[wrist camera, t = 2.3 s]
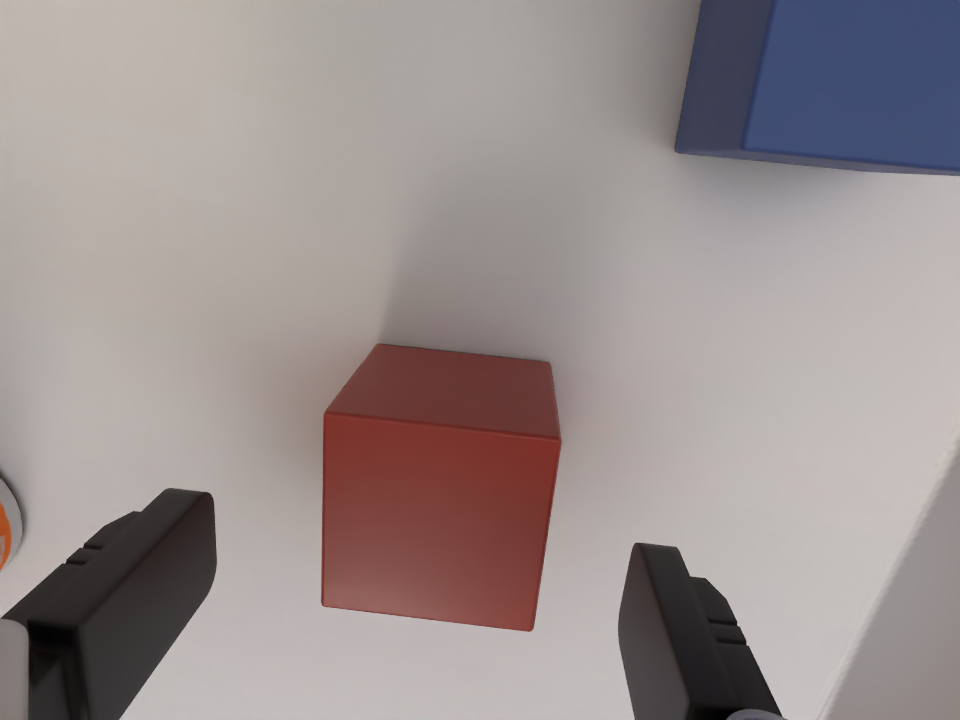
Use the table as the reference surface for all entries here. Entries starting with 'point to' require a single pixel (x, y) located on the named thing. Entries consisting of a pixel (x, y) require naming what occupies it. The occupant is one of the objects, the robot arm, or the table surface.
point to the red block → (439, 487)
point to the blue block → (826, 84)
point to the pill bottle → (9, 525)
